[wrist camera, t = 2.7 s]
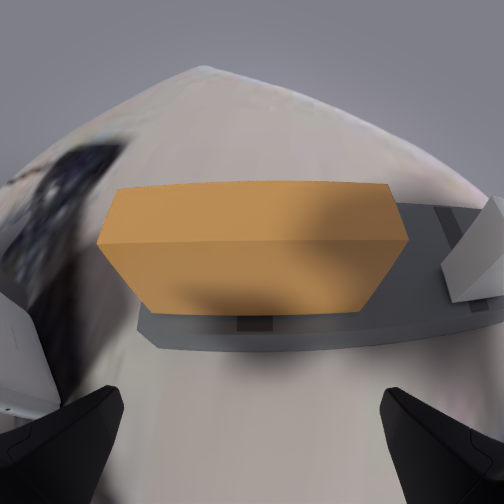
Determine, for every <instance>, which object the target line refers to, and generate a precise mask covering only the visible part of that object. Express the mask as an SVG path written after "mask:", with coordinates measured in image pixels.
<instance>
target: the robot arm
mask: <svg viewBox="0 0 504 504" xmlns="http://www.w3.org/2000/svg"><path fill="white" fill-rule="evenodd" d="M123 411H124V403H123V401H122V398H121V395H120V392H119V389H118V388H117V387H115V386H110V385H106V386H104V387H102V388H100V389H98V390H96V391H94V392H92V393H90V394H88V395H86V396H84V397H82V398H80V399H78V400H76V401H74V402H72V403H70V404H68V405H66V406H64V407H62V408H60V409H58V410H56V411H54V412H51V413H49V414H47V415H45V416H43V417H41V418H39V419H36V420H34V421H33V422H30V423H28V424H25V425H23V426H21V427H18V428H16V429H13V430H11V431H8V432H5V433H2V434H0V504H90V503H91V500H92V498H93V495H94V492H95V490H96V487H97V484H98V482H99V479H100V477H101V474H102V472H103V469H104V467H105V464H106V462H107V459H108V457H109V455H110V452H111V450H112V447H113V445H114V442H115V439H116V435H117V432H118V428H119V425H120V421H121V418H122V414H123ZM380 415H381V420H382V424H383V428H384V432H385V437H386V441H387V445H388V449H389V452H390V455H391V458H392V460H393V463H394V466H395V469H396V472H397V475H398V478H399V481H400V484H401V487H402V490H403V493H404V496H405V499H406V502H407V504H504V443H502V442H500V441H497V440H495V439H492V438H490V437H488V436H485V435H483V434H481V433H479V432H477V431H475V430H474V429H472V428H469V427H468V426H466V425H464V424H462V423H460V422H458V421H457V420H455V419H453V418H451V417H449V416H447V415H445V414H444V413H442V412H440V411H438V410H436V409H435V408H433V407H431V406H429V405H428V404H426V403H424V402H422V401H420V400H419V399H417V398H415V397H413V396H412V395H410V394H408V393H406V392H405V391H403V390H401V389H400V388H398V387H393V388H388V389H386V390H385V391H384V394H383V398H382V401H381V404H380Z"/></svg>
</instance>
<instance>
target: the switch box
mask: <svg viewBox="0 0 504 504" xmlns="http://www.w3.org/2000/svg"><path fill="white" fill-rule="evenodd" d="M396 206H397V208H398V211H399V213H400V216H401V219H402V221H403V224H404V227H405V230H406V233H407V235H408V238H409V241H408V242H407V244H406V245H405V247H404V249H403V250H402V252H401V253H400V255H399V256H398V258H397V259H396V261H395V262H394V264H393V265H392V267H391V268H390V270H389V271H388V273H387V274H386V276H385V277H384V279H383V280H382V281H381V283H380V284H379V286H378V287H377V289H376V290H375V291H374V293H373V294H372V295H371V297H370V298H369V300H368V301H367V302H366V304H365V305H364V306H363V308H362V309H361V310H360V312H348V313H330V314H306V315H260V316H229V315H183V314H159V313H151V312H150V310H149V309H148V308H147V307H146V306H145V305H144V303H143V302H141V308H140V313H139V319H138V325H137V331H138V332H139V333H141V334H142V335H143V336H144V337H145V338H146V339H148V340H149V341H150V342H151V343H153V344H154V345H155V346H156V347H157V348H163V349H177V350H194V351H220V352H284V351H310V350H327V349H341V348H353V347H363V346H373V345H382V344H390V343H398V342H405V341H412V340H418V339H425V338H431V337H436V336H442V335H447V334H453V333H458V332H463V331H467V330H472V329H477V328H481V327H485V326H489V325H493V324H497V323H501V322H504V295H502V296H496V297H489V298H483V299H476V300H470V301H462V302H455V303H452V300H451V297H450V293H449V290H448V286H447V283H446V280H445V276H444V273H443V270H442V267H441V263H442V262H443V261H444V259H445V258H446V257H447V256H448V255H449V253H450V252H451V251H452V250H453V248H454V247H455V246H456V245H457V243H458V242H459V241H460V239H461V238H462V237H463V235H464V234H465V233H466V232H467V230H468V229H469V227H470V226H471V225H472V223H473V222H474V221H475V219H476V218H477V216H478V215H479V214H480V212H481V211H482V209H472V208H462V207H450V206H437V205H423V204H407V203H396Z"/></svg>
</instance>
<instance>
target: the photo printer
mask: <svg viewBox="0 0 504 504" xmlns="http://www.w3.org/2000/svg"><path fill="white" fill-rule="evenodd" d="M60 403H61V400H60V397H59V393H58V390H57V387H56V385H55V382H54V379H53V377H52V374H51V371H50V369H49V366H48V363H47V360H46V358H45V355H44V352H43V349H42V346H41V343H40V341H39V338H38V335H37V332H36V329H35V326H34V323H33V321H32V319H31V317H30V315H29V314H28V313H27V312H26V311H24V310H23V309H21V308H20V307H19V306H18V305H16V304H15V303H14V302H12V301H11V300H10V299H8V298H7V297H5V296H4V295H3V294H2V293H1V292H0V412H2V413H6V414H10V415H14V416H19V417H23V418H28V419H39V418H41V417H43V416H45V415H47V414H49V413H51V412H54V411H56V410H58V409H59V407H60V405H59V404H60Z"/></svg>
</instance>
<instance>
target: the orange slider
mask: <svg viewBox="0 0 504 504" xmlns="http://www.w3.org/2000/svg"><path fill="white" fill-rule="evenodd" d="M408 241H409V238H408V235H407V233H406V230H405V227H404V224H403V221H402V219H401V216H400V213H399V211H398V208H397V206H396V203H395V200H394V198H393V196H392V193H391V191H390V188H389V186H388V184H374V183H356V182H329V181H237V182H210V183H191V184H175V185H161V186H149V187H138V188H127V189H118V190H117V191H116V194H115V196H114V199H113V201H112V203H111V206H110V208H109V211H108V213H107V216H106V219H105V221H104V224H103V227H102V229H101V232H100V235H99V238H98V240H97V243H96V244H97V246H98V247H99V248H100V250H101V251H102V252H103V254H104V255H105V256H106V258H107V259H108V260H109V262H110V263H111V264H112V266H113V267H114V268H115V269H116V271H117V272H118V273H119V274H120V276H121V277H122V278H123V279H124V281H125V282H126V283H127V284H128V286H129V287H130V288H131V289H132V290H133V292H134V293H135V294H136V295H137V296H138V298H139V299H140V300H141V301H142V302H143V303H144V305H145V306H146V307H147V308H148V309H149V310H150V312H151V313H159V314H183V315H229V316H260V315H306V314H330V313H348V312H360V310H361V309H362V308H363V306H364V305H365V304H366V302H367V301H368V300H369V298H370V297H371V295H372V294H373V293H374V291H375V290H376V289H377V287H378V286H379V284H380V283H381V281H382V280H383V279H384V277H385V276H386V274H387V273H388V271H389V270H390V268H391V267H392V265H393V264H394V262H395V261H396V259H397V258H398V256H399V255H400V253H401V252H402V250H403V249H404V247H405V245H406V244H407V242H408Z"/></svg>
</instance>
